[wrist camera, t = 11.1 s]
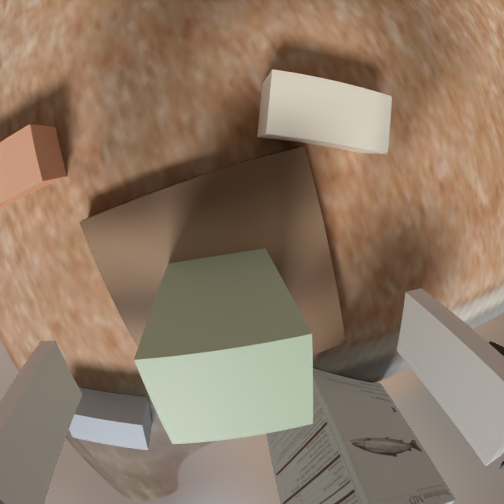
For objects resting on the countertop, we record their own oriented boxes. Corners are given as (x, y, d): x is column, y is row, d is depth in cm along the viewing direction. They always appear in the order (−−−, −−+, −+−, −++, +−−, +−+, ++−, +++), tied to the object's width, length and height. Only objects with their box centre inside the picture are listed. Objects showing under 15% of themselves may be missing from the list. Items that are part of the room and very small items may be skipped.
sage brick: (168, 263, 15) (134, 360, 8) (265, 248, 16) (311, 333, 8) (184, 330, 17) (172, 444, 9) (272, 316, 17) (312, 423, 9)
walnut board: (87, 217, 15) (79, 222, 14) (298, 146, 16) (304, 146, 14) (168, 384, 19) (166, 395, 18) (339, 332, 19) (346, 342, 18)
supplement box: (382, 381, 22) (460, 498, 10) (332, 439, 23) (379, 552, 11) (309, 362, 20) (382, 522, 8) (260, 428, 22) (291, 569, 10)
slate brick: (82, 411, 20) (72, 437, 17) (73, 384, 19) (61, 411, 16) (152, 421, 20) (148, 450, 18) (148, 395, 20) (142, 425, 17)
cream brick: (256, 137, 15) (266, 133, 13) (261, 83, 15) (272, 69, 12) (360, 152, 16) (387, 154, 13) (365, 103, 15) (391, 96, 13)
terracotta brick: (-1, 209, 14) (-29, 220, 12) (-12, 166, 13) (-41, 171, 11) (68, 175, 15) (42, 181, 12) (56, 126, 14) (30, 124, 11)
